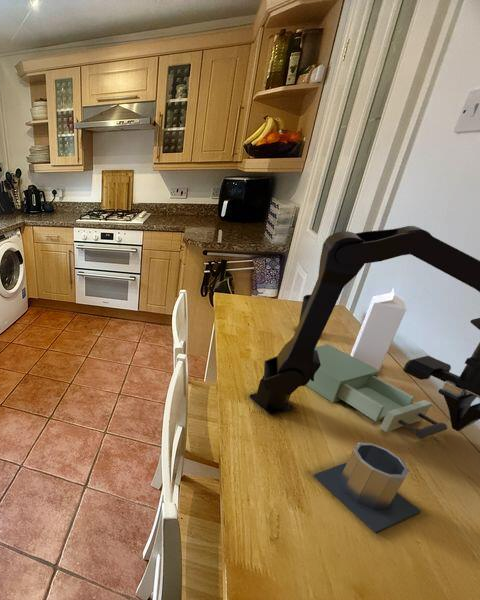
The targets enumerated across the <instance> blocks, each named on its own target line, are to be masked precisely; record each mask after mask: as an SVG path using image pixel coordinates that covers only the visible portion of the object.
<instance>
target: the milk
mask: <svg viewBox="0 0 480 600" xmlns="http://www.w3.org/2000/svg"><path fill="white" fill-rule="evenodd" d="M406 311H407V307H406V303H405V301H404V300H403V299H401V298H399V296H396V292H395V288H394V287H392V288H391V291H390V292H387V293H383V294H377V295H373V296H372V298H371V301H370V303H369V305H368V309H367V312H366V314H365V317H364V318H363V321H362V325H361V327H360V329H359V331H358V333H357V337H356V339H355V342H354V344H353V347H352V350H351V353H350V354H349V355H350V356H352V357H354V358H356V359H358V360H360V361H362V362H364V363H366V364H367V365H369V366H371V367H373V368H375V369H377V370H379V371H381V368H382V365H383V364H384V361H385V359H386V356H387V355H388V352H389V350H390V347H391V345H392V344H393V343H392V342H393V340H394V338H395V336H396V334H397V332H398V329H399V328H400V325H401V323H402V320H403V318H404V316H405V314H406Z"/></svg>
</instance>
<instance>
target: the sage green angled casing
mask: <svg viewBox="0 0 480 600" xmlns="http://www.w3.org/2000/svg"><path fill="white" fill-rule="evenodd" d="M315 350H317V351H318V355H319V359H320V363H321V365H320V367H319V369H318V370H317V371H316V373H315V374H314V381H312V380H311V379H310V381H309V382H308V383H307V385H306V386H307V387H308V388H310V389H312V390H313V391H314V392H316V393H317V394H318V395H320V396H322V397H323V398H325V399H327V400H328V401H329V402H331V403H333V404H334V403H337V402H341V401H343V400H342V399H340V398H339V397H337V396H338V393H339V391H340V388H341V386H342V384H343V383H346V382H350V381H354V380H358V379H361V378H365V377H369V376H372V375H374V376H376V377H378V378H379V375H380V373H381V370H377V369H375V368H373V367H371V366H369V365H367V364H366V363H364V362H362V361H360V360H358V359H356V358H354V357H352V356H350V354H348V353H346V352H344V351H342V350H340V349H338V348H336V347H334V346H332V345H331V344H328V343H327V344H323V345H318V346H316V347H315Z"/></svg>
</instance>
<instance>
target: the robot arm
mask: <svg viewBox="0 0 480 600" xmlns="http://www.w3.org/2000/svg"><path fill="white" fill-rule="evenodd" d="M401 256H413V257H414V258H417V259H419V260H421V261H422V262H424V263H426V264H427V265H430V266H431V267H433V268H435V269H437V270H439V271H441V272H443V273H444V274H446V275H449V276H450V277H452V278H453V279H454V278H455V279H456V280H458V281H460V282H461V283H463V284H465V285H467V286H469V287H470V288H472V289H474V290H476V291H477V292H478V293H479V294H480V259H477V258H476V257H473V256H472V255H470V254H467V253H466V252H465V251H462V250H460V249H458V248H456V247H454V246H452V245H450V244H448V243H447V242H445V241H443V240H440V239H438V238H436V237H435V236H433V235H432V234H431V233H430V232H429V231H427V230H426V229H423V228H421V227H419V226H415V225H407V226H402V227H396V228H391V229H378V230H369V231H368V230H367V231H362V232H361V231H360V232H356V233H355V232H352V231H349V230H348V231H347V230H346V231H345V230H344V231H343V230H342V231H337V232H335V233H333V234H331V235H329V236H327V238H326V239H325V240H324V242H323V244H322V249H321V254H320V259H319V266H318V276H317V280H316V282H315V285H314V287H313V289H312V292H311V293H310V295H311V296H310V298H309V301H308V303H307V305H306V308H305V310H304V313H303V315H302V317H301V320H300V319H299V320H300V322H299V321H298V325H297V327H296V330H295V331H294V333H293V336H292V338H291V339H290V340H288V341H287V342H286V343H285V344H284V345H283V347H282V348H281V350H280V351H279V353H278V354H277V355H276V356H274V357H271V358H269V359H266V360H264V362H263V365H264V366H263V375H262V378H261V379H260V380H259V383H258V387H257V391H256V392H255V393H251V394H250V395H249V398H250V399H251V400H252V401H254V403H256V404H257V405H258V406H259V407H260V408H261V409H263V410H264V411H265V412H266V413H268V414H269V415H270V416H275V415H278V414H281V413H284V412H289V411H292V410H294V406H293V405H292V404H290V403H289V401H290V399H291V395H292V394H293V393H294V392H295V391H296V390H297V389H298V388H299V387H305V386H307V383H308V382H309V381H310V379H311V380H312V381H314V374H315V373H316V371H317V370H318V369H319V367H320V365H321V363H320V359H319V355H318V351H317V350H315V347H317V345H318V343H319V340H320V338H321V337H322V334H323V332H324V330H325V328H326V326H327V324H328V321H329V319H330V318H331V315H332V313H333V312H334V309H335V306H336V304H337V302H338V300H339V298H340V296H341V294H342V292H343V289H344V288H345V287H346V286H347V284H349V283H350V282H351V281H352V280H353V279H354V278H355V277H357V275H358V274H359V272H360V271H362V269H363V267H364V266H365V264H371V263H379V262H383V261H387V260H391V259H394V258H398V257H401ZM470 324H472V325H473V326H474V327H476V329H477V330H479V331H480V317H477V318H473V319H471V320H470ZM465 364H466V365H465ZM464 365H465V366H464V369H463V370H462V371H461V374H460V375H457V374H455V373H452V372H451V370H452V367H451V365H450V364H449V363H447V362H444V361H442V360H439V359H437V358H435V357H432V356H430V355H425V356H421V357H416V358H412V359H408V361H407V362H406V363H405V365H404V367H403V369H402V371H403V372H404V373H405V374H407V375H410V376H412V377H414V378H416V379H418V380H421V381H422V380H428V379H430V378H431V376H432V377H433V378H435V379H438V380H440V381H442V382H444V385H443V387H442V388H440V389H438V391H437V392H438V393H439V394H440V395H442V396H443V398H444V401H445V404H446V406H447V408H448V414H449V419H450V425H451V428H452V429H453V430H455V431H457V432H460V431H463V430H464V429H466V428H467V427H469V426H471V425H473V424H474V423H476V422H478V421H479V420H480V402H478V403H475V404H473V405H472V403H473V402H475V400H476V398H479V399H480V341H479V342H478V344H477V346H476V347H475V349H474V351H473V352H472V355H471V356H470V357H467V358H466V359H465V362H464Z"/></svg>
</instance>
